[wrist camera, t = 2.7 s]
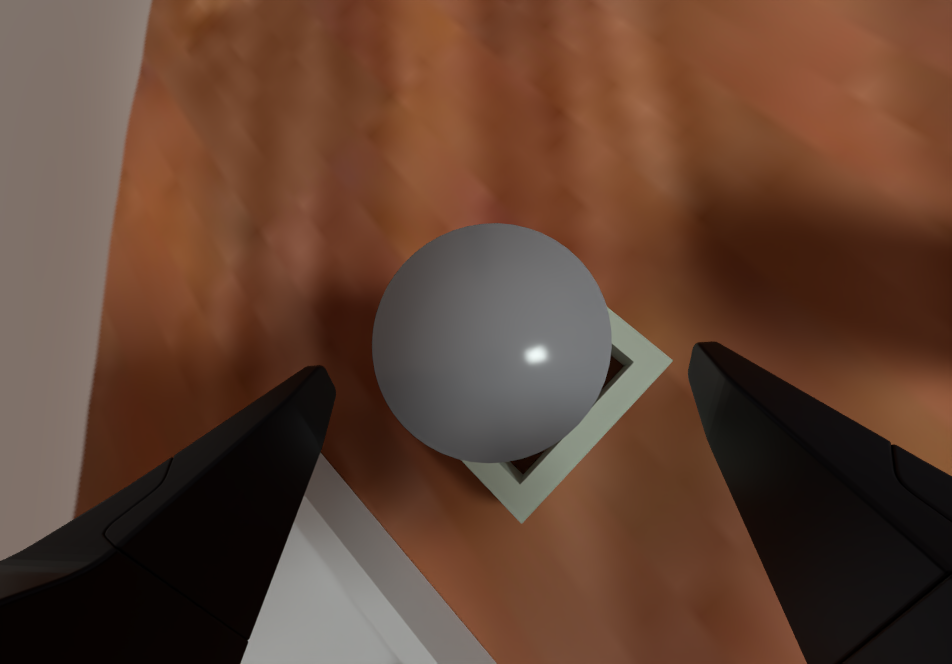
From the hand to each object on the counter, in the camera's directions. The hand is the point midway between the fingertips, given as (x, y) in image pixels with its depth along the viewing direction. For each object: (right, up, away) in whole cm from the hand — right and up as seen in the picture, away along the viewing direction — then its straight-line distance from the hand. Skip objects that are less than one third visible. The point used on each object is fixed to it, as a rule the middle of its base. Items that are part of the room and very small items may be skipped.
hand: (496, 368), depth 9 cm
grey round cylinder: (+2, -1, +8) cm, 8 cm away
